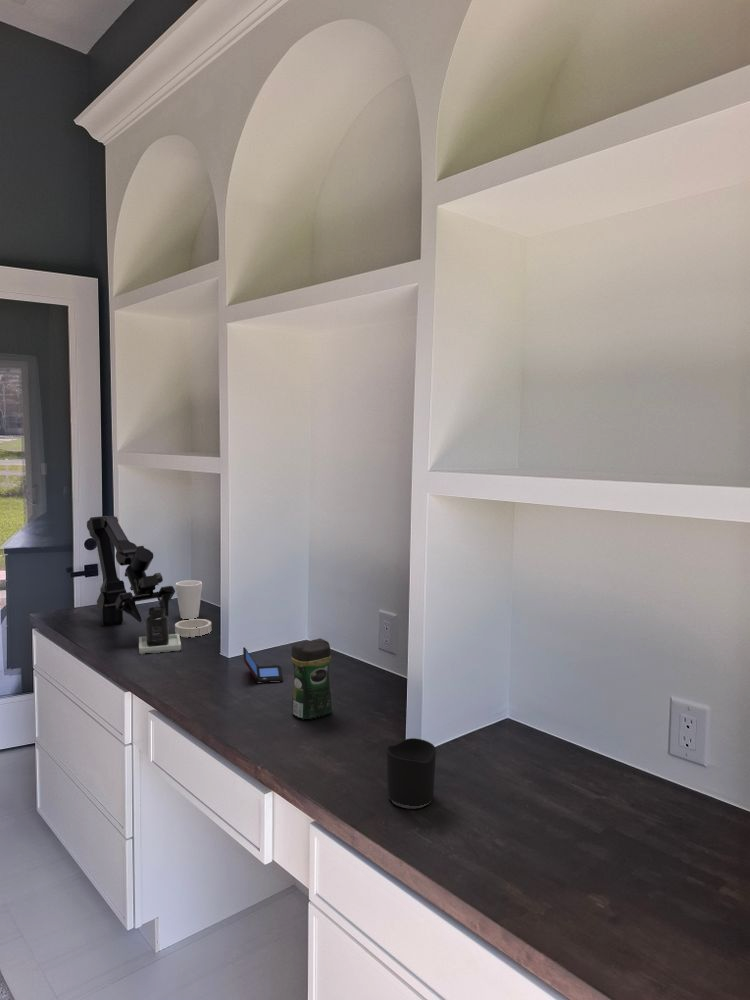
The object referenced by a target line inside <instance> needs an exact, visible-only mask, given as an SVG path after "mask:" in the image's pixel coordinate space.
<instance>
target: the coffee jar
mask: <svg viewBox="0 0 750 1000" xmlns="http://www.w3.org/2000/svg"><path fill="white" fill-rule="evenodd" d="M331 652H332V651H331V645H330V643H329V641H327V640H326V639H324V638H321V637H319V638H317V639H312V640H307V641H302V642H295V643H293V644H292V645H291V653H290V654H291V658H290V660H291V662H292V665H293V675H294V676H293V686H292V687H293V689H292V691H293V692H292V701H291V712H292V714H293V716H294V715H295V716H297V717H299V718H303V719H302V720H304V719H310V718H315V717H319V718H321V717H320V716H322V717H325V716H328V715H330V714H331V713H332V711H333V710H332V709H333V708H332V706H333V704H332V703H333V702H332V694H331V686H330V673H329V671H330V670H329V667H330V663H331V658H332V653H331ZM329 713H330V714H329ZM327 714H328V715H327ZM324 715H325V716H324ZM295 716H294V717H295ZM297 717H296V718H297ZM299 718H298V719H299ZM315 719H316V718H315Z"/></svg>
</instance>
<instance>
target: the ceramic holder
mask: <svg viewBox="0 0 750 1000" xmlns="http://www.w3.org/2000/svg"><path fill="white" fill-rule="evenodd" d="M196 627H197V628H196ZM211 631H212V621H211V620H209V619H205V618H204V619H202V618H196V619H189V620H184V619H182V620H180V621H178V622H176V623H175V624H174V632H175V633H174V634H179V636H181V637H180V638H188V637H191V638H196V637H195V636H201V637H203V636H202V635H205V634H208V633H209V634H211V633H212V632H211ZM210 632H211V633H210ZM209 634H208V635H209ZM205 636H206V635H205Z"/></svg>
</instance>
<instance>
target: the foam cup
mask: <svg viewBox="0 0 750 1000" xmlns="http://www.w3.org/2000/svg"><path fill="white" fill-rule="evenodd" d="M202 589H203V582H202V581H201V580H196V579H195V580H193V579H192V580H191V579H189V580H187V579H186V580H181V581H177V582H176V583H175V592H176V598H177V603H178V610H179V615H180V619H181V618H182V620H184V619H194V618H196V619H198V618H199V616H200V615H199V613H200V608H201V607H200V606H201V597H202ZM197 617H198V618H197Z"/></svg>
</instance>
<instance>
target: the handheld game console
mask: <svg viewBox="0 0 750 1000" xmlns="http://www.w3.org/2000/svg"><path fill="white" fill-rule="evenodd" d="M242 649H243V650H242V652H243V653H242V654H243V658H242V659H243V661H244V664H245V665H246V667H247V668H248V670H249V672H250V673H251V675H253V678H254V679H255V683H256V682H270V681H282V680H284V679H283V674H282V669H281V665H279V664H278V665H262V666H260V665H258V664H257V663H256V661H254V659H253V658H252V656H251V654H250V653H249V652H248V650H247V648H246V646H244V647H243V648H242ZM282 682H283V681H282Z"/></svg>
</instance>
